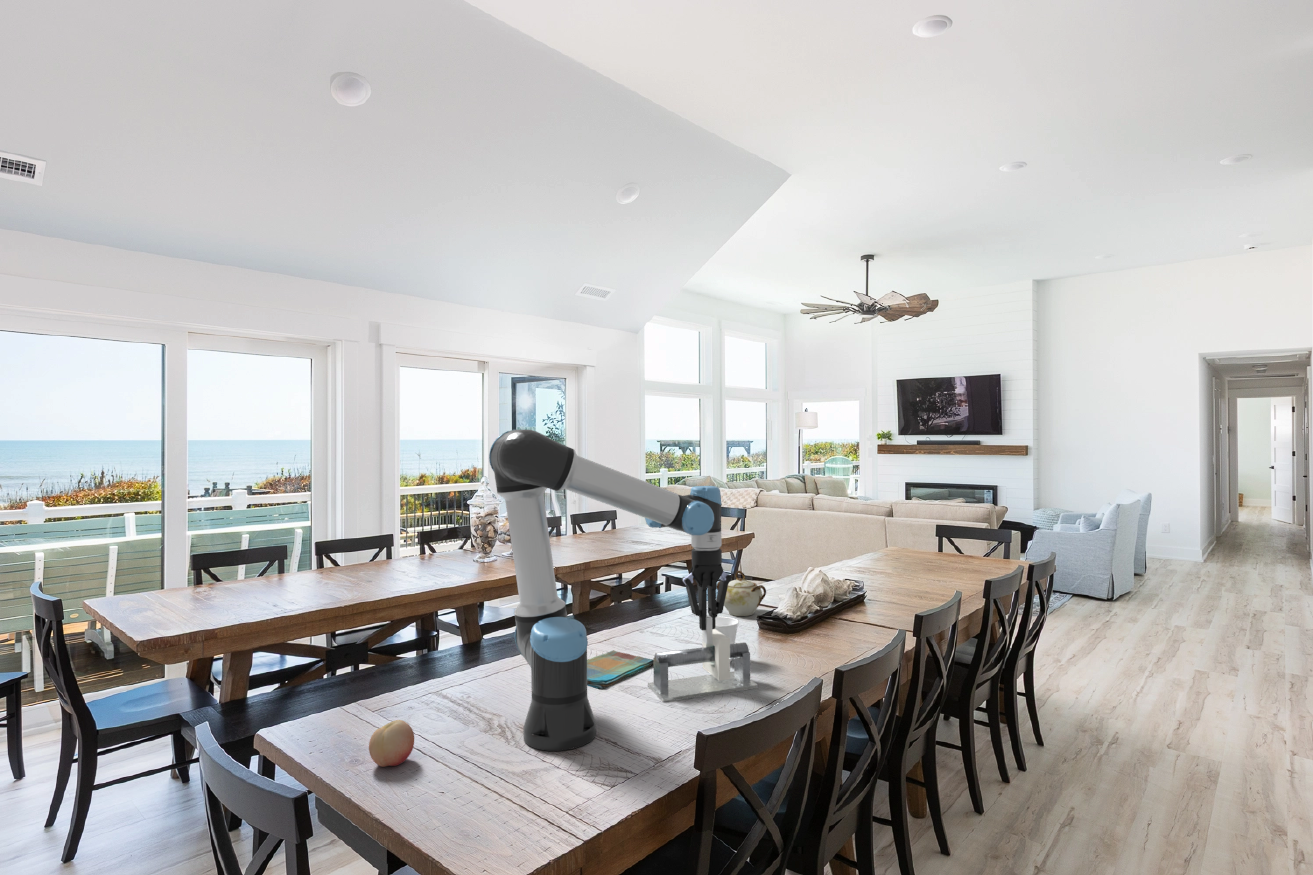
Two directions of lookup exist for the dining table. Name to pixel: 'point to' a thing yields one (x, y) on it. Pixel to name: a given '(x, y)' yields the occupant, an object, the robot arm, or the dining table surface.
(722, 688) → the pipe rig
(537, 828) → the dining table surface
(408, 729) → the fruit
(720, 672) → the collar
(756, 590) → the sugar bowl
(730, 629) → the cup
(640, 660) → the dish towel
